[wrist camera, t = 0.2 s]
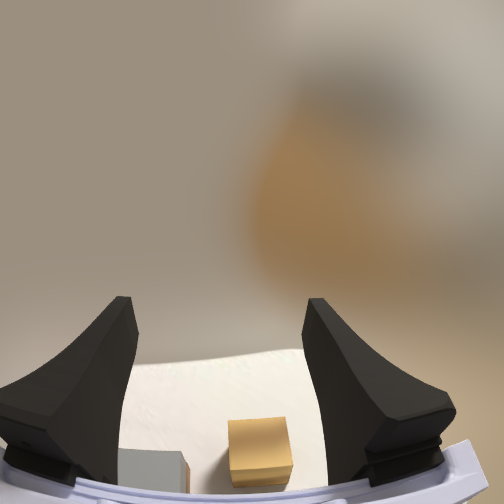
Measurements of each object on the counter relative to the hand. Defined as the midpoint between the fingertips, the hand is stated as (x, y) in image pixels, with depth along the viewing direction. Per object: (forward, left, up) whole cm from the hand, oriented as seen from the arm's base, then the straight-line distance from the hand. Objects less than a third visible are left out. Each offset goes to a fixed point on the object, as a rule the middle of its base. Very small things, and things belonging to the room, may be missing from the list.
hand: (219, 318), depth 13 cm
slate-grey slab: (-1, +8, -19) cm, 21 cm away
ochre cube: (+3, -2, -21) cm, 22 cm away
